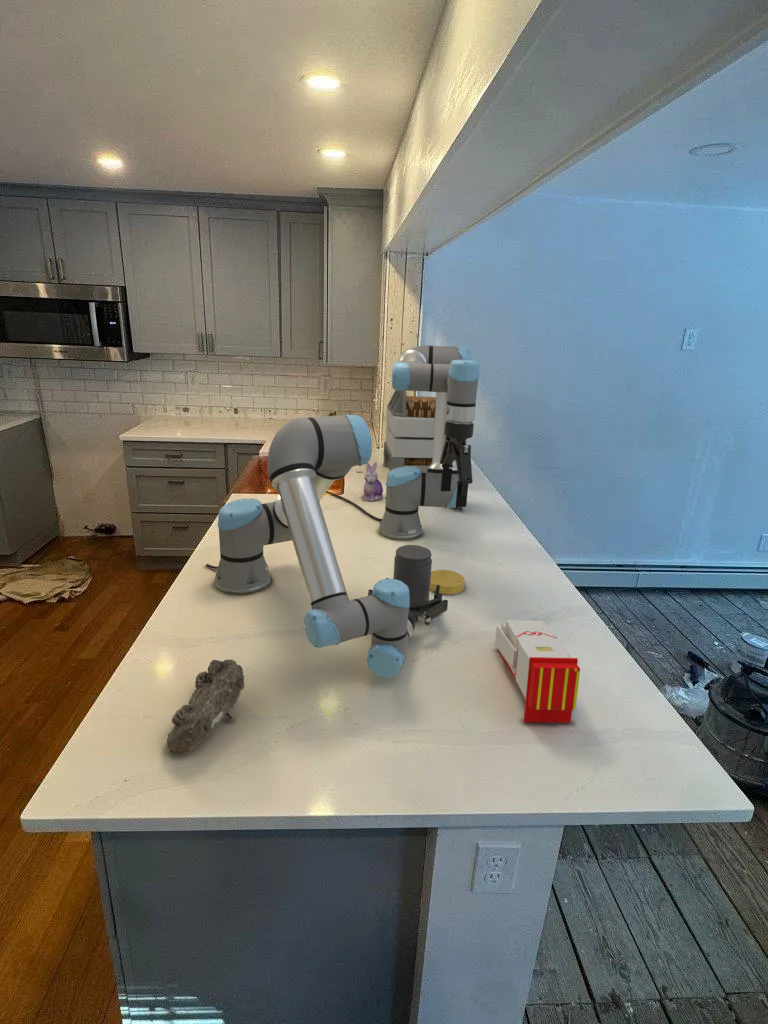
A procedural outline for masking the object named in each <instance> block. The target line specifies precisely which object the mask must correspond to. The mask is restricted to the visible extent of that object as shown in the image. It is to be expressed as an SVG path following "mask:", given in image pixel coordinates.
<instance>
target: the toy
mask: <svg viewBox="0 0 768 1024" xmlns="http://www.w3.org/2000/svg"><path fill="white" fill-rule="evenodd" d="M494 645H495V647H496V648H497V651H498V653H499V654H500V656H501V658H502V660H503V661H504V663H505V665H506V666H507V668H508V670H509V671H510V673H511V675H512V676H513V678H514V679H515V682H516V684H517V686H518V688H519V690H520V692H521V693H522V695H523V697H524V699H525V701H524V703H525V705H524V712H523V713H524V714H523V722H524V723H550V724H551V723H552V724H553V723H554V724H556V723H557V724H558V723H559V724H561V723H562V724H571V723H572V717H573V716H572V715H573V711H576V708H577V699H578V692H579V682H580V674H581V667H580V666H579V664H578V663H579V662H578V661H579V659H578V658H577V657H572V656H571V655H570V653H569V652H568V651H567V649H566V648H565V647H564V645H563V644H562V643H561V641H560V639H558V637H556V635H555V634H554V632H553V631H552V630H551V628H550V626H549V625H547V623H546V622H545V621H544V620H517V619H516V620H513V619H512V620H511V619H510V620H509V619H506V620H505V622H501V627H500V626H499V625H497V626H496V628H495V637H494Z"/></svg>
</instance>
